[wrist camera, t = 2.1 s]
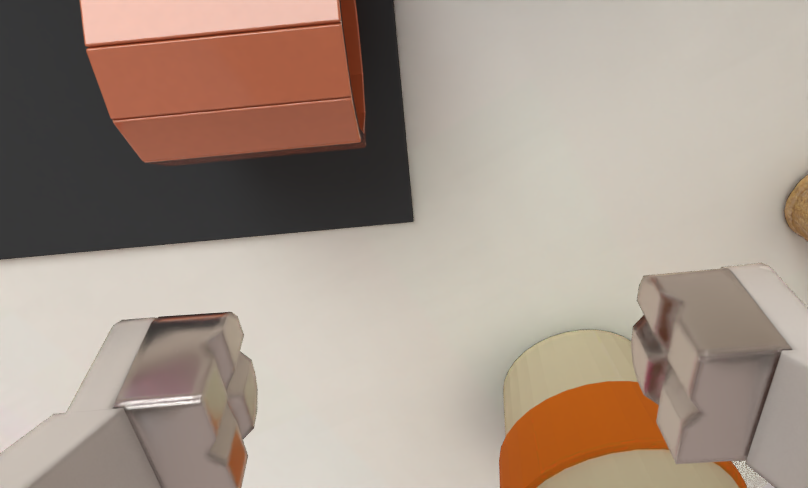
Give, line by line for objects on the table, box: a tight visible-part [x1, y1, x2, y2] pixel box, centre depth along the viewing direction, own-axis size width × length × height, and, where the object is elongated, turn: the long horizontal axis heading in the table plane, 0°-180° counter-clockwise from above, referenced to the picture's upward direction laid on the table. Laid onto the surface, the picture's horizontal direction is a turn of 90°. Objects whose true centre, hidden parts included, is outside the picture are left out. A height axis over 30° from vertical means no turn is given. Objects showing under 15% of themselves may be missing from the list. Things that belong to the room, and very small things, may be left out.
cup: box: [79, 0, 367, 166], centre depth 23 cm, size 8×8×8 cm
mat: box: [0, 0, 414, 260], centre depth 26 cm, size 22×22×1 cm
